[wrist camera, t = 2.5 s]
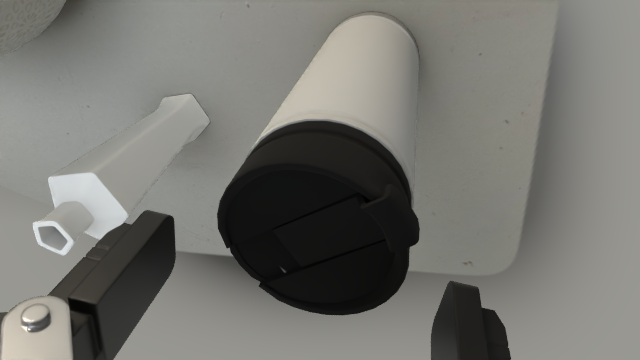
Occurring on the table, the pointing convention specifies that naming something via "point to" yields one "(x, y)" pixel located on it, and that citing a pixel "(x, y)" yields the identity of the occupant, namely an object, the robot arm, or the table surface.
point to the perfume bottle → (117, 174)
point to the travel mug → (334, 176)
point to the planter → (25, 21)
